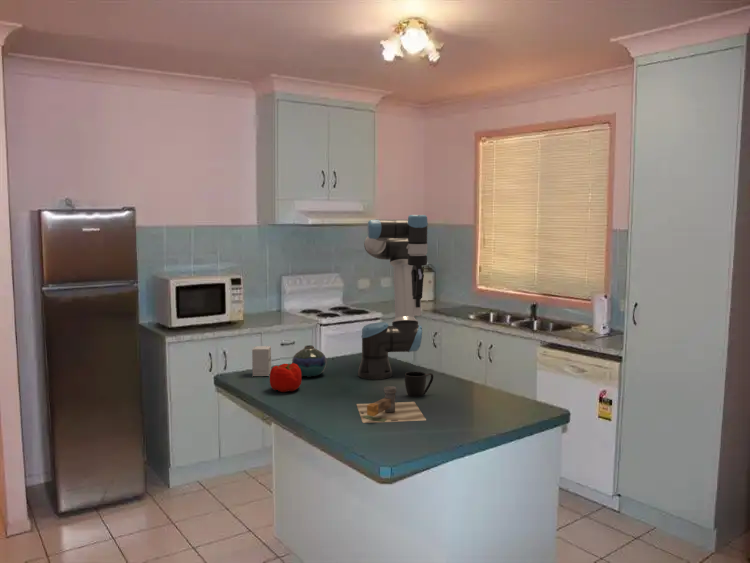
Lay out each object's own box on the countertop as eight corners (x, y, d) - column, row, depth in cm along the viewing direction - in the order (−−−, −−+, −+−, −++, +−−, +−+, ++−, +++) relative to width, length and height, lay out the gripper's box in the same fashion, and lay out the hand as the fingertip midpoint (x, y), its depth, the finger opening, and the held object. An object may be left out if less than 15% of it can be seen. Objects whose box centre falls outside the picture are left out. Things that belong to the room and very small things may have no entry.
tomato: (281, 396, 253) (280, 370, 252) (263, 389, 263) (263, 364, 262) (309, 390, 262) (309, 365, 261) (291, 384, 272) (291, 359, 271)
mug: (438, 398, 251) (438, 374, 250) (410, 401, 246) (410, 377, 245) (428, 392, 258) (428, 369, 257) (401, 396, 254) (401, 372, 253)
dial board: (356, 407, 239) (356, 403, 239) (414, 404, 242) (414, 401, 242) (362, 426, 217) (362, 422, 217) (426, 423, 220) (426, 419, 220)
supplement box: (268, 377, 283) (268, 349, 282) (252, 377, 283) (251, 349, 282) (271, 373, 290) (271, 345, 289) (255, 373, 290) (254, 345, 289)
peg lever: (387, 408, 232) (387, 385, 232) (398, 410, 230) (398, 387, 229) (364, 419, 220) (364, 395, 219) (375, 421, 217) (375, 397, 216)
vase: (297, 370, 295) (296, 342, 294) (329, 371, 293) (329, 343, 291) (288, 379, 280) (287, 349, 278) (322, 380, 278) (322, 350, 276)
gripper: (404, 253, 253) (404, 313, 256) (411, 256, 240) (410, 318, 243) (423, 253, 254) (423, 312, 257) (430, 255, 241) (430, 317, 244)
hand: (417, 315), depth 250 cm, fingers closed
